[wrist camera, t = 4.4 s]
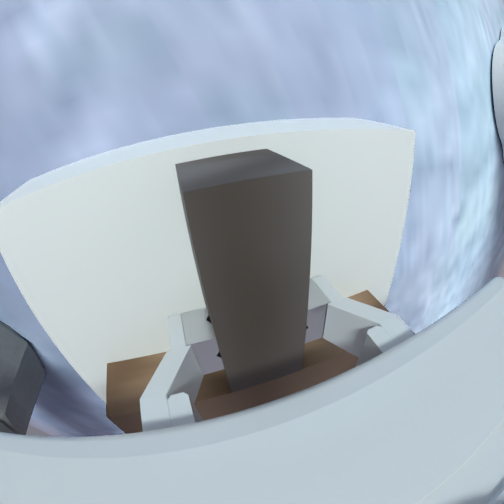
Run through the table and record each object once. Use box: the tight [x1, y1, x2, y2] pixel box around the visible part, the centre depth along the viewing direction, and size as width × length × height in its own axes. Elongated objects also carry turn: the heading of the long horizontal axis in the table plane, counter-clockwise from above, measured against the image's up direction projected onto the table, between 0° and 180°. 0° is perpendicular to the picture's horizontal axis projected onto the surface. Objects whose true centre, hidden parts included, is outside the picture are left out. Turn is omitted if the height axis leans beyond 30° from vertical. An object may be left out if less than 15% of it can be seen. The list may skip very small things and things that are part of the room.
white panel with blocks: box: [0, 118, 415, 403], centre depth 15 cm, size 18×21×4 cm
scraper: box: [106, 149, 389, 434], centre depth 10 cm, size 14×11×3 cm
